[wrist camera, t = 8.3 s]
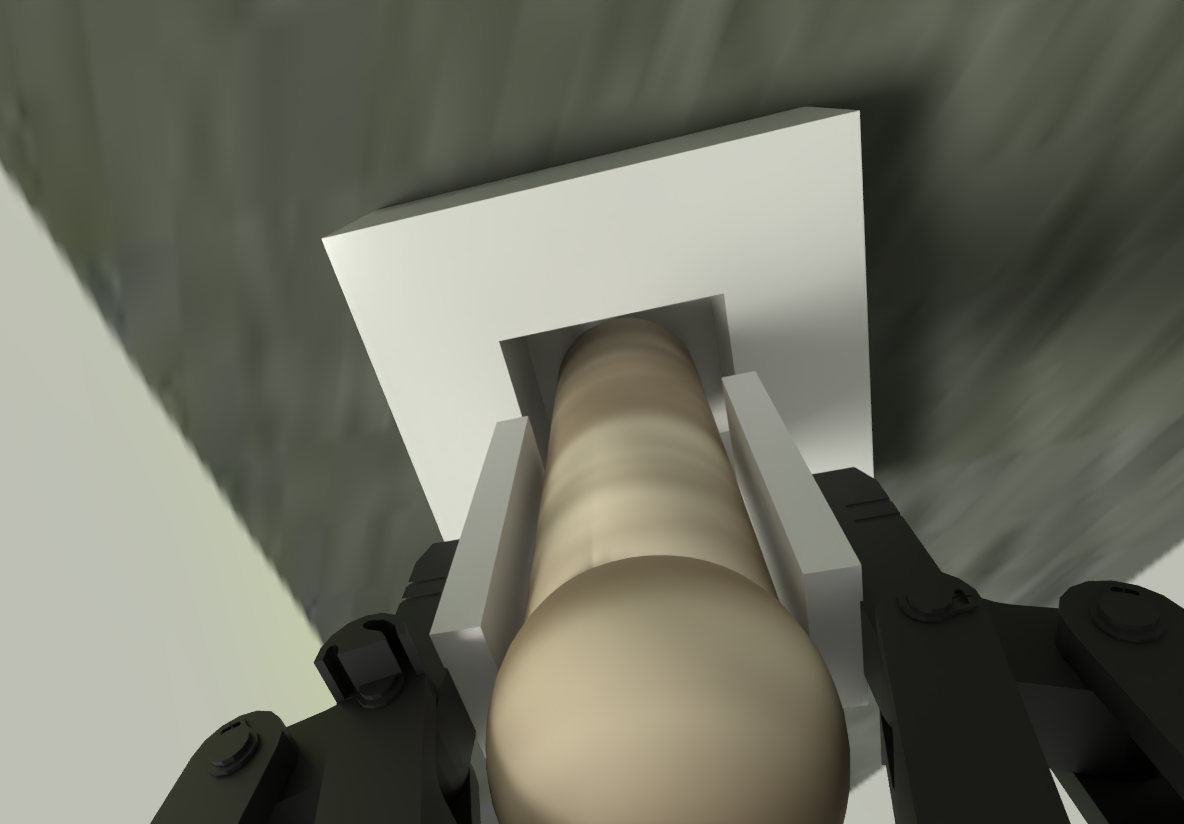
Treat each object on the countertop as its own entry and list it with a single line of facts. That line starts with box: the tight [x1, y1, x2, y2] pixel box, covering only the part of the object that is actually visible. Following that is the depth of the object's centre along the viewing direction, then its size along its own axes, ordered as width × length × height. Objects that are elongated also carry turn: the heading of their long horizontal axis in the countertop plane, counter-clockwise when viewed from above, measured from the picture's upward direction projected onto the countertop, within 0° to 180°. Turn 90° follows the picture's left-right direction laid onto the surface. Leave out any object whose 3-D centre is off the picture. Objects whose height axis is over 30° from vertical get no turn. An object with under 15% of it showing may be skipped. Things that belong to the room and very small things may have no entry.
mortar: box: [322, 106, 874, 541], centre depth 18 cm, size 12×12×4 cm
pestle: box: [485, 318, 850, 824], centre depth 12 cm, size 5×5×14 cm
